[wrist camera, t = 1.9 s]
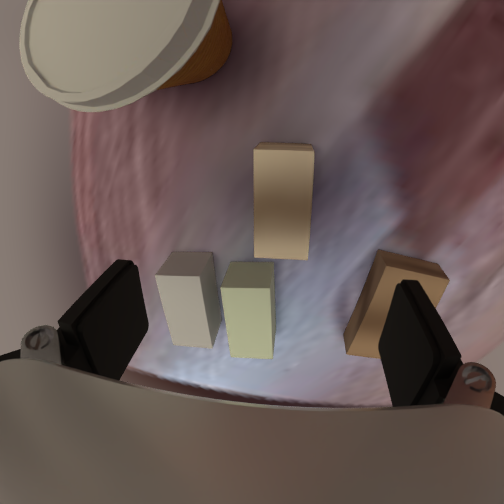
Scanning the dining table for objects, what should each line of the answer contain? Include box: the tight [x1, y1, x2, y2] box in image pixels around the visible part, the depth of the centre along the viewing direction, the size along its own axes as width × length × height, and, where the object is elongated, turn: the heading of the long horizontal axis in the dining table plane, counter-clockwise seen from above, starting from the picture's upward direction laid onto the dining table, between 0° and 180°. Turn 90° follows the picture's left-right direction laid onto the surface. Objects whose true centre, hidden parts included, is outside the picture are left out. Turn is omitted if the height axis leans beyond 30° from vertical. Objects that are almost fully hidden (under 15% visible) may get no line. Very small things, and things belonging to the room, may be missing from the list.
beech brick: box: [254, 142, 314, 260], centre depth 20 cm, size 7×4×4 cm, turn 0°
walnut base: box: [343, 250, 450, 359], centre depth 24 cm, size 9×6×3 cm, turn 170°
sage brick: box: [220, 262, 276, 359], centre depth 25 cm, size 7×4×4 cm, turn 4°
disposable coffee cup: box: [19, 0, 232, 112], centre depth 12 cm, size 10×10×12 cm
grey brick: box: [155, 252, 222, 348], centre depth 25 cm, size 7×4×4 cm, turn 3°
